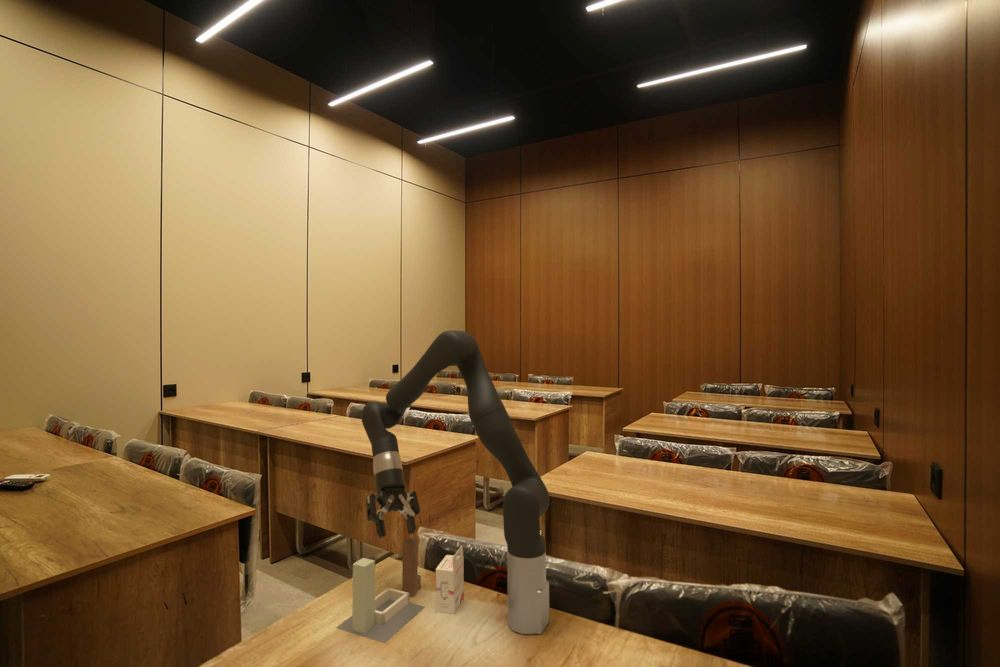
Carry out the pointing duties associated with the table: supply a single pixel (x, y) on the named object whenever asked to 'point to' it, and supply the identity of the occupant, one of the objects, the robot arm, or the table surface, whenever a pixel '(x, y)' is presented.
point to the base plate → (387, 615)
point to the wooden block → (410, 567)
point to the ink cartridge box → (450, 583)
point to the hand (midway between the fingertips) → (397, 535)
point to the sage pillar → (363, 595)
